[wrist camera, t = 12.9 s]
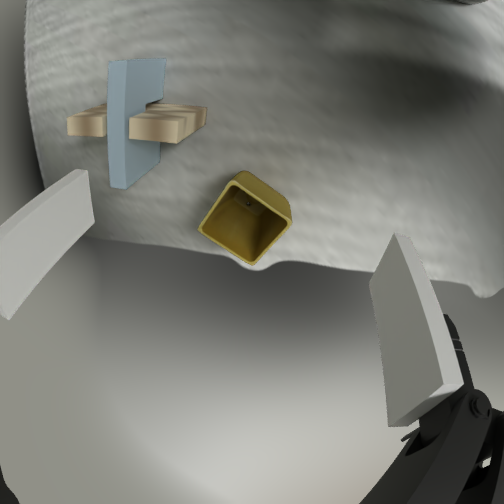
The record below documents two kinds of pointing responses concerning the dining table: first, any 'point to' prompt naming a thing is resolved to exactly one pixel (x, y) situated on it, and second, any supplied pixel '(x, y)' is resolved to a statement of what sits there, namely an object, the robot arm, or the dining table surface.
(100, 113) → the tan wooden block
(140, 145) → the pale blue upright slab
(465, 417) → the robot arm
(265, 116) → the dining table surface
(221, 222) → the flower pot
